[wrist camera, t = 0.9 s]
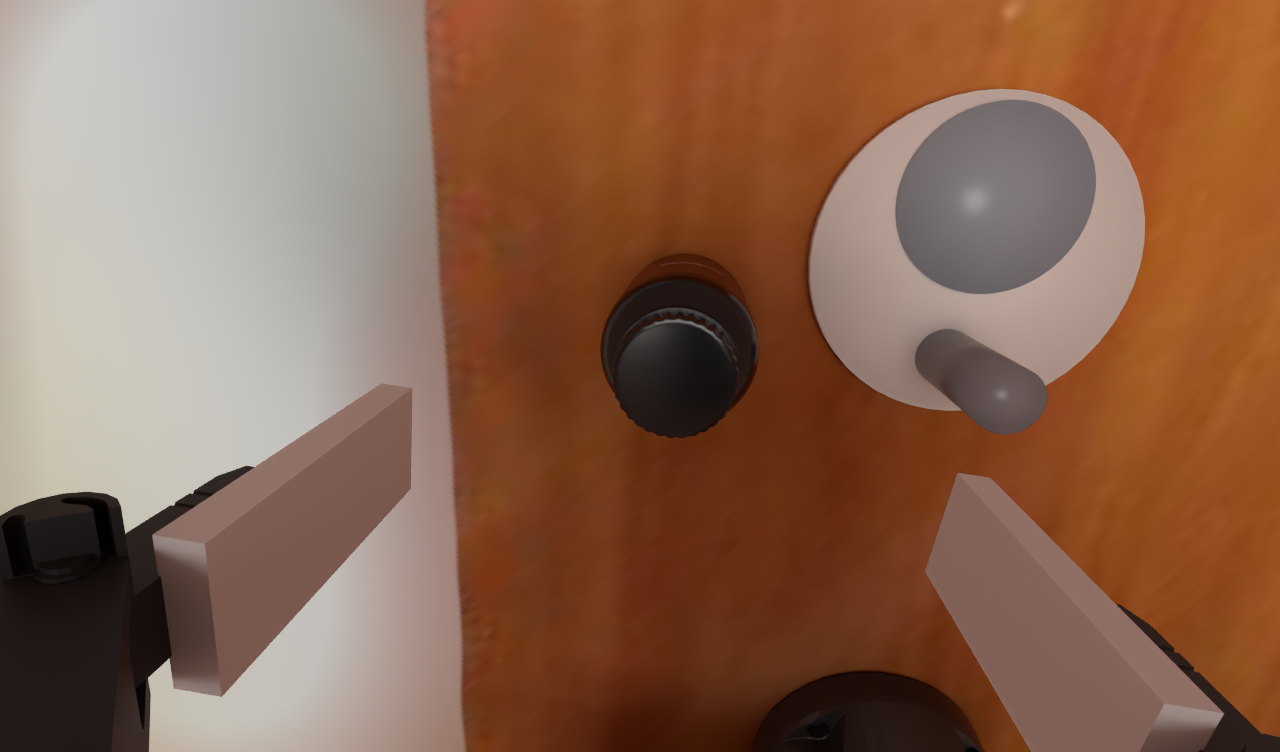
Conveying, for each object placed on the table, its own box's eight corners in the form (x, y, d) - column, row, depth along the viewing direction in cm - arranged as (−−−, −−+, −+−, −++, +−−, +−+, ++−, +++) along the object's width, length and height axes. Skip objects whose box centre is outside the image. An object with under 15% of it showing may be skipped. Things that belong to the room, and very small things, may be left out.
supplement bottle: (712, 228, 32) (722, 253, 21) (765, 340, 34) (802, 420, 23) (599, 287, 34) (552, 340, 22) (656, 392, 35) (639, 491, 24)
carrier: (1066, 424, 34) (1174, 494, 26) (779, 381, 35) (804, 437, 27) (1183, 115, 29) (1357, 91, 21) (846, 71, 30) (898, 33, 22)
